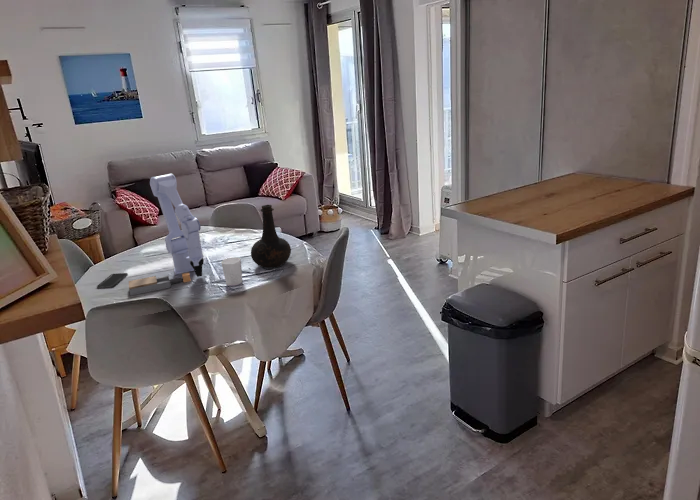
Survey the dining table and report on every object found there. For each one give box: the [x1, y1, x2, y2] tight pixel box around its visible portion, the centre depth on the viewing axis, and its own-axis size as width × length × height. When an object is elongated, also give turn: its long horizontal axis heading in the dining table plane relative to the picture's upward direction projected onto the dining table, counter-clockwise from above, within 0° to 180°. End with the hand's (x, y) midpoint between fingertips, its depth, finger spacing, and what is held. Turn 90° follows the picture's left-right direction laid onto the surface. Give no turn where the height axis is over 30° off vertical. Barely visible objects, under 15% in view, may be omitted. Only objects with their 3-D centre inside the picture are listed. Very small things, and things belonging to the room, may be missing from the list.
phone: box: [96, 272, 129, 289], centre depth 226 cm, size 8×1×15 cm
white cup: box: [221, 257, 243, 287], centre depth 213 cm, size 8×8×10 cm
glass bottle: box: [250, 204, 292, 269], centre depth 228 cm, size 18×18×28 cm
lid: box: [128, 275, 157, 290], centre depth 214 cm, size 11×8×1 cm
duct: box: [128, 275, 172, 296], centre depth 215 cm, size 16×8×3 cm, turn 113°
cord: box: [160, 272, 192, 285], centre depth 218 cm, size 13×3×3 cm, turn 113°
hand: (199, 275), depth 222 cm, fingers closed
